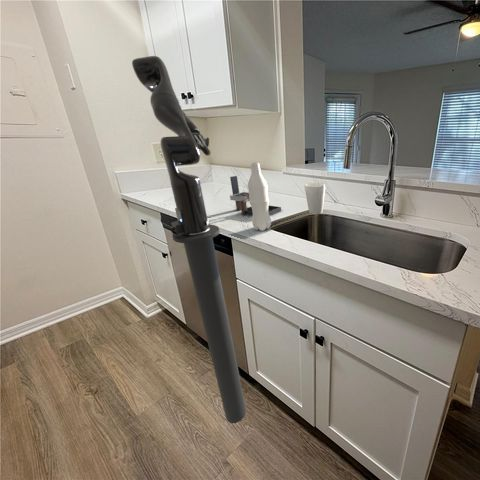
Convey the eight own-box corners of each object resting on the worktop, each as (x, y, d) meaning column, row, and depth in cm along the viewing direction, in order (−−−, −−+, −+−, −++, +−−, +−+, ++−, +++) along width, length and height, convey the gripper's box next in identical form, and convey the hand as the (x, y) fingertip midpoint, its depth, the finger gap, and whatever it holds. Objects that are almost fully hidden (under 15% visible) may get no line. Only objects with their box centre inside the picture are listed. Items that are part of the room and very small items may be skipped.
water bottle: (260, 233, 98) (252, 164, 88) (249, 229, 102) (240, 163, 92) (275, 227, 103) (269, 162, 93) (264, 224, 107) (257, 161, 97)
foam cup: (307, 216, 116) (306, 187, 111) (304, 210, 125) (303, 183, 119) (328, 214, 118) (327, 185, 113) (323, 209, 126) (323, 182, 121)
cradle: (265, 207, 131) (264, 194, 128) (244, 215, 119) (242, 200, 117) (250, 205, 136) (248, 192, 133) (229, 212, 124) (226, 198, 121)
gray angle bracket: (262, 197, 128) (259, 175, 124) (245, 203, 119) (242, 179, 115) (244, 195, 133) (241, 174, 129) (227, 200, 124) (223, 178, 120)
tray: (281, 210, 125) (281, 207, 124) (264, 217, 115) (264, 213, 115) (259, 207, 131) (258, 203, 131) (241, 213, 122) (241, 209, 121)
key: (250, 197, 126) (249, 196, 126) (247, 198, 124) (247, 197, 124) (242, 196, 128) (242, 195, 128) (239, 197, 126) (239, 196, 126)
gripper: (196, 133, 136) (216, 158, 135) (172, 133, 125) (194, 161, 124) (201, 121, 131) (222, 147, 130) (176, 121, 121) (199, 149, 120)
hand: (208, 154), depth 127 cm, fingers closed
